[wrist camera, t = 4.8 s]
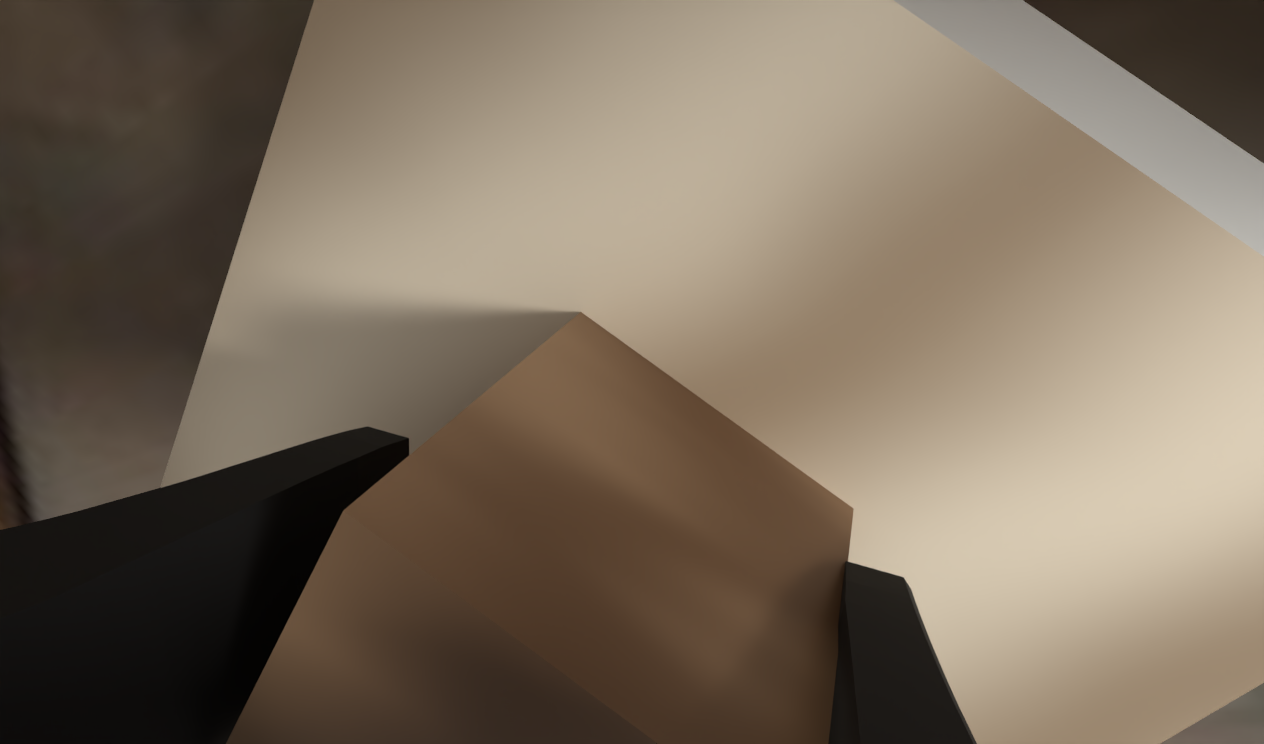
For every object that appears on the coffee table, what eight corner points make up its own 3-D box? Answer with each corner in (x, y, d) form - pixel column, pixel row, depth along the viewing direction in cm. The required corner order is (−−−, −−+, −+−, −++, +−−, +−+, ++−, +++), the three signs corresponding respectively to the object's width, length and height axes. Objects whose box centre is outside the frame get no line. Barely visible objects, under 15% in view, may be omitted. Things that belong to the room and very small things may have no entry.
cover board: (1532, 445, 8) (2540, 1094, 3) (759, 935, 14) (685, 1388, 9) (460, -297, 8) (-156, -768, 3) (184, 504, 14) (-164, 728, 10)
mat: (1379, 245, 13) (1395, 253, 13) (816, 716, 21) (814, 730, 21) (627, -264, 14) (618, -274, 14) (347, 375, 22) (335, 382, 21)
